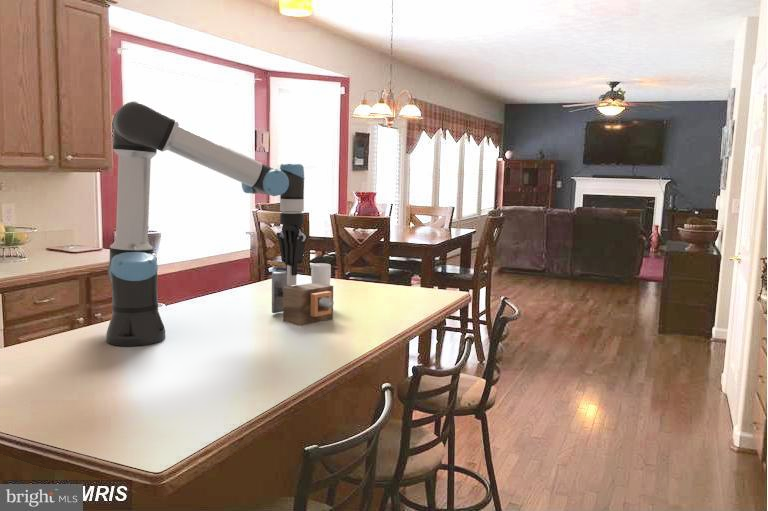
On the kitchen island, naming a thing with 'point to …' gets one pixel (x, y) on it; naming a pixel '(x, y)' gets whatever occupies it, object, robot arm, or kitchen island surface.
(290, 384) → the kitchen island surface
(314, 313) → the orange square frame
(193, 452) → the kitchen island surface
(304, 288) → the bearing block
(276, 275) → the shaft
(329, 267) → the drinking glass
